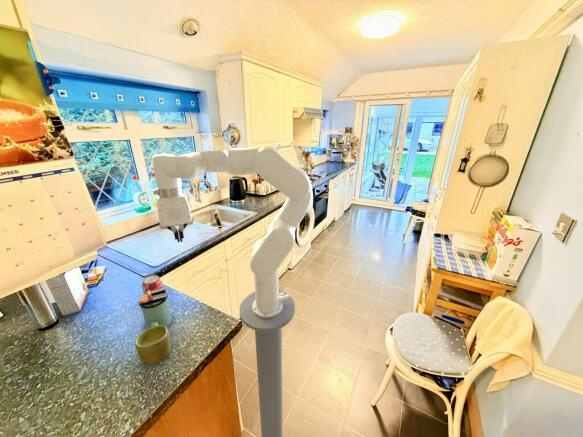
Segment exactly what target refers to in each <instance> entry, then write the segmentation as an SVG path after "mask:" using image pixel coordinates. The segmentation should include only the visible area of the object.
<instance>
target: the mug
mask: <svg viewBox="0 0 583 437" xmlns="http://www.w3.org/2000/svg"><path fill="white" fill-rule="evenodd" d="M150 327H151V328H149V329H147V328H146V329H145V330H143V331H141V333H140V334H138V336H137V337H136V338H135V340H134V346H135V350H136V352H137V354H138V357H139V359H140V360H141V362H142V364H144V365H147V366H154V365H157V364H159V363H160V362H162V361H164V360H165V359H166V358H168V356H169V355H170V354H171V352H172V344H171V340H170V334H169V333H170V332H169V330H168V327H165V326H162V325H158V323H157V322H155V323H152V324H151V326H150Z"/></svg>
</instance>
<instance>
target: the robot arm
mask: <svg viewBox="0 0 583 437" xmlns="http://www.w3.org/2000/svg"><path fill="white" fill-rule="evenodd" d="M151 163H152V164H151V165H152V168H153V174H154V179H155V183H156V187H157V188H156V189H154V190H152V194H153V195H156V196H157V197H156V210H157V215H158V216H157V217H158V221H159V228H160V229H161V230H162V229H163V230H169V231H171V232H172V233H173V235H174V241H176V240H177V243H180V242H181V243H183V242H184V241H183V239H185V236H184V230H185V229H186V228H187V226H190V225H192V224H194V220H193V216H192V210H191V206H190V202H189V199H188V196H187V195H186V193H184V188H183V182H182V180H192V179H195V178H196V177H198V176H200V175H202V174H208V173H226V174H228V175H231V176H234V177H235V176H245V175H246V176H247V175H258V176H259V177H261V178H262V179H263V180H264V181H266V182H267V183H268V184H270V185H271V187H273V188H275V189H276V190H278V191H279V192H281V193H282V194H283V195H284V196H286V199H285V201H284V202H283V204H282V206H281V208H280V210H279V211H278V212H277V213H276V214H275V216H274V218H272V220H271V221H270V223H269V225H268V228H267V232H266V236H261V237H259V238H257V240H256V241H255V242H254V245H253V247H252V252H251V256H250V259H249V267H250V270H251V272H252V273H253V274H254V277H253V278H254V292H255V295H256V300H255V301H254V302H253V305H252V309H253V312H254V313H255V314H256V315H257V316H259V317H263V318H270V317H274V316H276V315H277V314H279V313H280V312H281V310H282V306H283V305H282V302H283V300H287V299H289V296H290V294H288V293H287V295H284V293H283V292H284V291H283V292H282V293H280V294H279V290H280V289H279V288H280V287H279V286H280V285H279V282H280V281H279V279H280V278H279V274H280V271H279V268H280V266H281V265H282V263H283V262H284V261H285V259H286V258H287V256H288V255H289V254H290V253H291V251H292V250H293V248H294V245H295V242H296V230H297V228H298V227H299V225H300V223H301V222H302V220H303V219H304V218H305V216H306V214H307V213H308V211H309V209H310V208H311V203H312V199H313V187H312V186H313V185H312V182H311V180H310V177H309V175H308V173H307V172H306V171H305V170H304V169H303V168H301V167H295V166H294V165H292V164H291V163H289V161H287V160H286V159H285V158H284V157H283V156H282V155H281V152H280V151H279V149H277V148H276V147H274V146H271V145H270V146H269V145H267V146H266V145H263V146H253V147H239V148H226V149H218V150H216V149H215V150H204V151H203V150H202V151H192V152H189V153H185V154H181V155H175V154H172V153H159V154H154V155H153V156H152V157H151ZM176 226H178V228H176ZM283 295H284V296H283Z"/></svg>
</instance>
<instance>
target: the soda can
mask: <svg viewBox="0 0 583 437" xmlns="http://www.w3.org/2000/svg"><path fill="white" fill-rule="evenodd" d="M141 287H142V291H143V295H144V294H146V293H148V291H149V290H150V291H153V290H158V289H161V290H164V289H165V288H164V285H163V282H162V279H161V278H160V276H159V275H158V274H150V275H148V276H146V277H143V279H142V284H141Z"/></svg>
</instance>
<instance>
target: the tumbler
mask: <svg viewBox="0 0 583 437" xmlns="http://www.w3.org/2000/svg"><path fill="white" fill-rule="evenodd" d="M163 289H164V290H161V289H158V290H153V291H150V292H151V300H150V301H146V302H143V303H140V298H139V299H138V305H139V307H140V309H141V312H142V316H143V319H144V323H145V327H146V330H147V329H149V328H151V327H150V326H151V324H152V323H155V322H157V323H158V325H162V326H165V327H166V328H168V327H169V326H170V325H171V323H172V322H173V317H172V316H173V315H172V312H171V307H170V302H169V298H168V297H169V296H168V291H166V289H165V288H163ZM147 294H148V293H146V294H144V293H143V295H142V296H145V295H147Z"/></svg>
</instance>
